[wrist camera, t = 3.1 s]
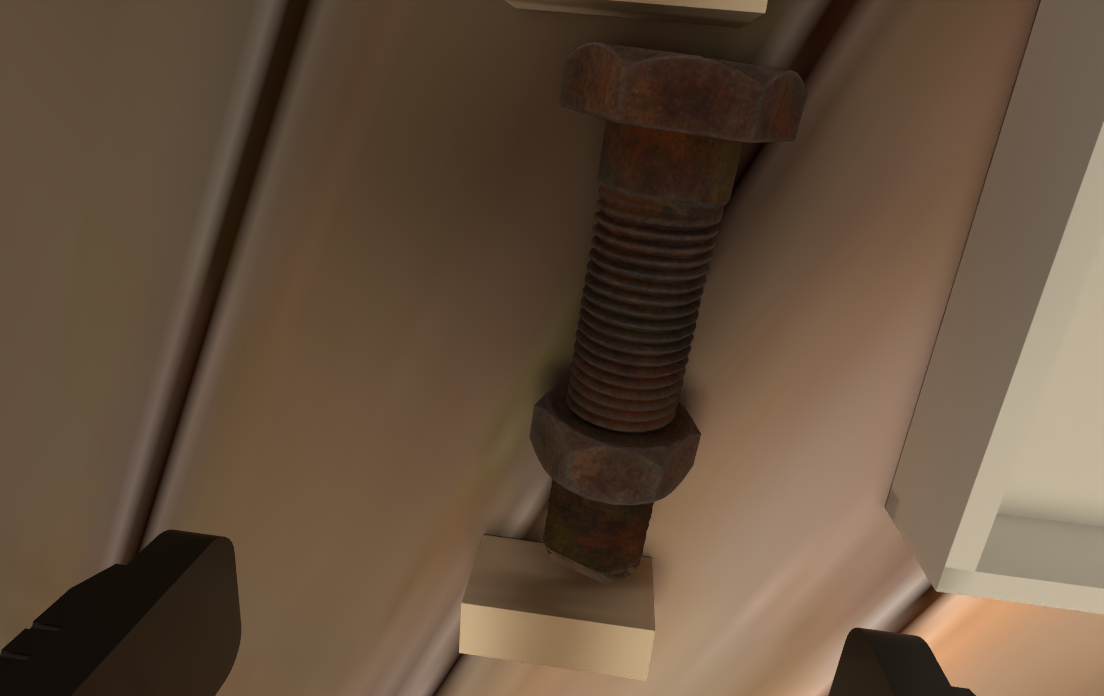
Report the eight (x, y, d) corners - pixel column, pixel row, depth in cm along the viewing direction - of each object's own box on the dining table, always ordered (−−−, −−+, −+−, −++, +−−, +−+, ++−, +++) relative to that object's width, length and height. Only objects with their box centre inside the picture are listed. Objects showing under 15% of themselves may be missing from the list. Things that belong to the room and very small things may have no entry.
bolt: (576, 484, 26) (653, 53, 20) (698, 549, 23) (829, 77, 17) (471, 560, 21) (531, 31, 15) (608, 651, 19) (744, 60, 13)
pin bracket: (755, -60, 17) (784, -95, 14) (643, 603, 25) (646, 680, 22) (520, -78, 18) (495, -116, 14) (481, 580, 25) (459, 652, 22)
